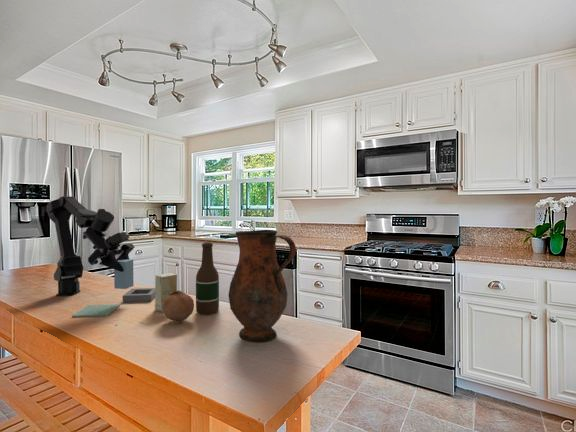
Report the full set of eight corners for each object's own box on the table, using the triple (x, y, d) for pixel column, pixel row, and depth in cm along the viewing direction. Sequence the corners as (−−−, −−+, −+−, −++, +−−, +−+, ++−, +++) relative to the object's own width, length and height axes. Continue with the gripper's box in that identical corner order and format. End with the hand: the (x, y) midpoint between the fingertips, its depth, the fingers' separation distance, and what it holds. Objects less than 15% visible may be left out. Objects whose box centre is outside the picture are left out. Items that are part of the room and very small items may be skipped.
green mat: (72, 317, 105) (72, 315, 105) (88, 306, 116) (88, 305, 116) (107, 315, 106) (107, 314, 106) (120, 305, 117) (120, 304, 117)
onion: (160, 328, 95) (160, 295, 95) (164, 318, 105) (163, 287, 104) (193, 325, 98) (193, 293, 98) (194, 315, 107) (194, 286, 107)
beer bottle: (191, 312, 110) (190, 243, 109) (206, 306, 117) (206, 241, 116) (208, 316, 106) (208, 244, 105) (223, 310, 113) (223, 242, 112)
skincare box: (161, 312, 110) (161, 277, 110) (154, 309, 113) (154, 275, 113) (177, 307, 115) (177, 273, 115) (170, 305, 118) (170, 272, 118)
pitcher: (255, 320, 103) (255, 227, 102) (310, 336, 90) (311, 230, 89) (215, 337, 90) (214, 230, 89) (273, 359, 77) (274, 234, 76)
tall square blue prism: (114, 288, 117) (114, 261, 117) (122, 285, 121) (122, 259, 121) (125, 289, 116) (125, 261, 116) (133, 286, 121) (133, 259, 120)
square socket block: (122, 302, 121) (122, 295, 121) (132, 294, 132) (132, 288, 132) (151, 301, 123) (151, 294, 123) (158, 293, 133) (158, 287, 133)
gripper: (94, 226, 110) (124, 259, 108) (130, 223, 128) (155, 251, 127) (75, 248, 111) (103, 281, 110) (112, 242, 129) (137, 270, 128)
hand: (127, 269), depth 118 cm, fingers closed on tall square blue prism, 4 cm apart
